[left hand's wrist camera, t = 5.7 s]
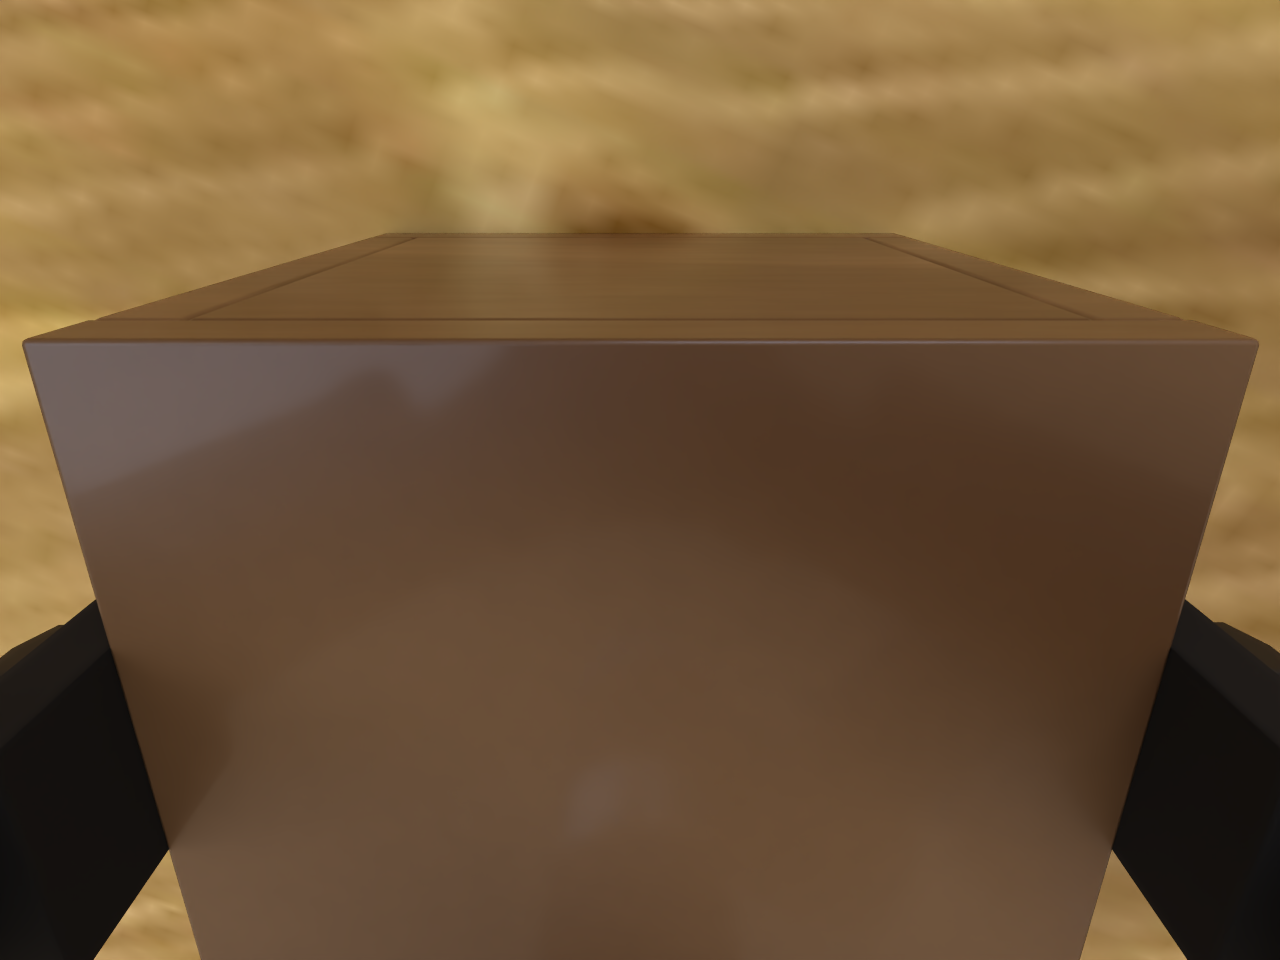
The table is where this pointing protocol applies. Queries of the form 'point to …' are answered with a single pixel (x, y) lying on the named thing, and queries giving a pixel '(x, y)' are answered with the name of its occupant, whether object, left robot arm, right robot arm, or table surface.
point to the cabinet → (640, 590)
